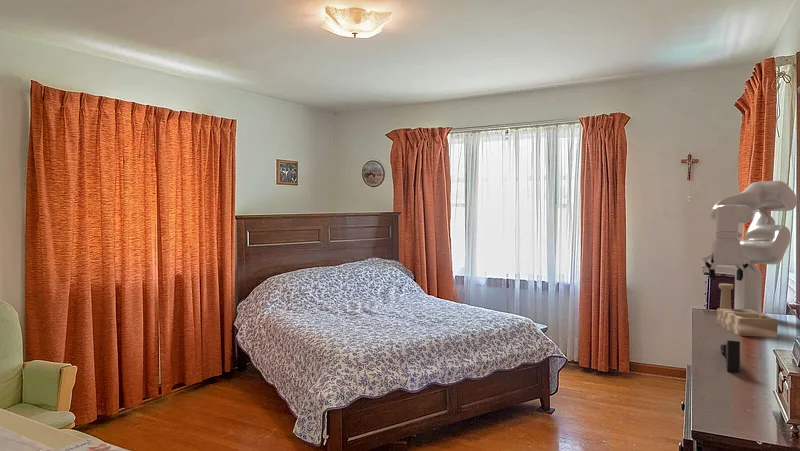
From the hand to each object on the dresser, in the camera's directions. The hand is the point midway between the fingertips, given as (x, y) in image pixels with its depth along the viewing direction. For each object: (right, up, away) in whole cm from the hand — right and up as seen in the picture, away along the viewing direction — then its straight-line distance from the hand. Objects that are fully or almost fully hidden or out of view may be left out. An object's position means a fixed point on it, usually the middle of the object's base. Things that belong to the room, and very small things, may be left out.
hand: (725, 279), depth 213 cm
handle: (0, -17, +1) cm, 17 cm away
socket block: (-1, -17, -13) cm, 22 cm away
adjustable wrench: (-32, -19, -56) cm, 67 cm away
